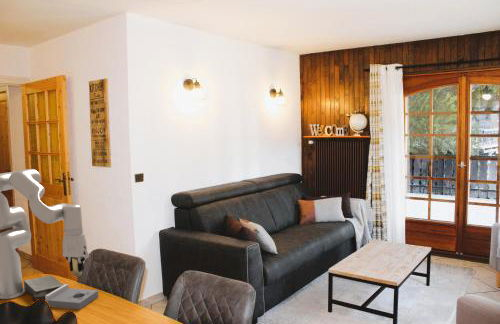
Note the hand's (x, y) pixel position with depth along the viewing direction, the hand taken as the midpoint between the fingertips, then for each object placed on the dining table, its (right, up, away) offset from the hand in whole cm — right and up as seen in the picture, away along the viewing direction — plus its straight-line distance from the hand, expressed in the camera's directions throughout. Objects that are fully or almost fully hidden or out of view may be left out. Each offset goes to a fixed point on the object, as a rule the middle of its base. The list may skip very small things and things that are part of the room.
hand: (77, 270), depth 197 cm
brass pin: (0, -2, 0) cm, 2 cm away
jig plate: (-3, -15, +3) cm, 16 cm away
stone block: (-22, -15, +15) cm, 31 cm away
